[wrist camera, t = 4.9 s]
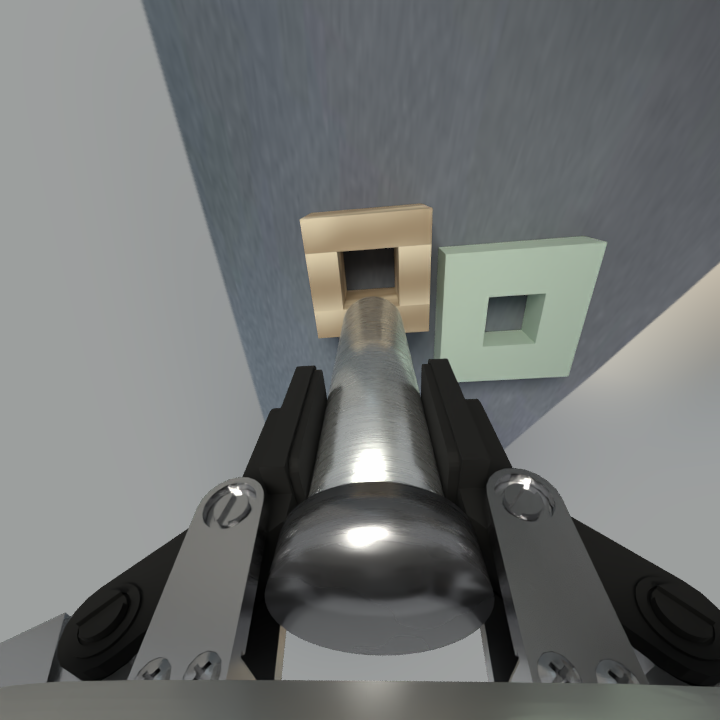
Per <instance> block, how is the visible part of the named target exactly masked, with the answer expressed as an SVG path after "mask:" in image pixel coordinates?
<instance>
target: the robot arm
mask: <svg viewBox="0 0 720 720" xmlns="http://www.w3.org/2000/svg"><path fill="white" fill-rule="evenodd" d="M421 401H422V406H423V410H424V414H425V418H426V422H427V427H428V431H429V435H430V439H431V443H432V448H433V452H434V456H435V460H436V464H437V469H438V473H439V477H440V481H441V486H442V490H443V494H444V498H446V499H448V500H450V501H451V502H452V503H454V504H455V505H456V506H458V507H459V508H460V509H461V510H462V511H463V512H464V513H465V514H466V515H467V517H468V518H469V520H470V521H471V523H472V525H473V528H474V530H475V533H476V536H477V540H478V543H479V546H480V550H481V553H482V556H483V560H484V563H485V566H486V569H487V573H488V576H489V579H490V583H491V586H492V589H493V593H494V607H493V610H492V612H491V615H490V616H489V618H488V619H487V621H486V622H485V623H484V624H483V625H482V626H481V627H480V630H481V637H482V643H483V650H484V656H485V663H486V669H487V675H488V682H433V681H431V682H430V681H303V680H281V679H282V669H283V658H284V648H285V638H286V629H284V628H283V627H282V626H281V625H280V624H279V623H277V622H276V620H275V619H274V618H273V617H272V616H271V614H270V612H269V611H268V609H267V606H266V603H265V589H266V585H267V581H268V577H269V573H270V569H271V565H272V562H273V558H274V554H275V550H276V546H277V542H278V538H279V534H280V531H281V527H282V525H283V522H284V520H285V519H286V517H287V516H288V514H289V513H290V512H291V511H292V510H293V509H294V508H295V507H296V506H297V505H298V504H300V503H301V502H302V501H304V500H305V499H307V498H308V497H309V492H310V487H311V482H312V477H313V472H314V466H315V461H316V456H317V451H318V446H319V441H320V436H321V431H322V426H323V421H324V416H325V410H326V405H327V396H326V389H325V383H324V377H323V372H322V370H316V367H315V366H299V367H297V368H296V370H295V372H294V375H293V378H292V380H291V383H290V386H289V388H288V391H287V394H286V396H285V399H284V402H283V404H282V407H281V408H274V409H272V410H271V411H270V413H269V415H268V417H267V420H266V422H265V425H264V427H263V429H262V432H261V434H260V436H259V439H258V441H257V444H256V446H255V448H254V451H253V453H252V456H251V458H250V460H249V463H248V465H247V468H246V470H245V472H244V475H243V477H238V478H234V479H229V480H227V481H225V482H223V483H221V484H219V485H217V486H216V487H214V488H213V489H212V490H210V491H209V492H208V493H207V494H206V495H205V496H204V498H203V499H202V500H201V502H200V504H199V505H198V507H197V509H196V512H195V514H194V517H193V519H192V521H191V524H190V526H189V528H188V529H187V530H185V531H184V532H183V533H181V534H179V535H178V536H176V537H175V538H174V539H172V540H171V541H169V542H168V543H166V544H165V545H163V546H162V547H160V548H159V549H157V550H156V551H154V552H153V553H151V554H150V555H148V556H147V557H146V558H144V559H143V560H141V561H140V562H138V563H137V564H135V565H134V566H132V567H131V568H129V569H128V570H126V571H125V572H123V573H122V574H121V575H119V576H118V577H116V578H115V579H113V580H112V581H110V582H109V583H107V584H106V585H104V586H103V587H101V588H100V589H99V590H98V591H96V592H95V593H94V594H93V595H91V596H90V597H89V598H88V599H87V600H86V601H85V602H84V603H83V604H82V605H81V606H80V607H79V608H78V609H77V611H76V612H75V613H74V614H73V615H72V616H69V615H68V614H66V613H63V614H61V615H59V616H57V617H55V618H53V619H50V620H48V621H46V622H44V623H42V624H40V625H38V626H36V627H33V628H31V629H29V630H27V631H25V632H23V633H21V634H19V635H16V636H14V637H13V638H10V639H8V640H6V641H4V642H2V643H0V720H720V610H719V609H718V608H717V607H716V606H715V605H714V604H713V603H712V602H710V601H709V600H708V599H707V598H706V597H705V596H704V595H703V594H701V592H699V591H698V590H696V589H695V588H693V587H691V586H690V585H688V584H687V583H686V582H684V581H683V580H681V579H679V578H677V577H675V576H674V575H672V574H670V573H669V572H667V571H665V570H663V569H662V568H660V567H658V566H656V565H654V564H653V563H651V562H649V561H648V560H646V559H644V558H642V557H641V556H639V555H637V554H635V553H634V552H632V551H630V550H628V549H626V548H625V547H623V546H621V545H619V544H618V543H616V542H614V541H613V540H611V539H609V538H608V537H606V536H604V535H602V534H600V533H599V532H597V531H595V530H593V529H592V528H590V527H588V526H586V525H585V524H583V523H581V522H580V521H578V520H576V519H574V518H573V517H571V516H570V514H569V512H568V510H567V508H566V506H565V504H564V501H563V499H562V497H561V496H560V494H559V493H558V491H557V490H556V489H555V488H554V487H553V486H552V485H551V484H550V483H549V482H548V481H547V480H545V479H544V478H542V477H540V476H539V475H537V474H535V473H532V472H529V471H527V470H523V469H516V468H512V466H511V464H510V462H509V460H508V458H507V456H506V453H505V451H504V449H503V447H502V445H501V443H500V441H499V439H498V437H497V435H496V433H495V431H494V429H493V427H492V425H491V423H490V421H489V419H488V416H487V414H486V412H485V410H484V408H483V406H482V404H481V402H480V401H479V400H478V399H465V398H464V396H463V394H462V391H461V389H460V387H459V384H458V382H457V379H456V377H455V375H454V372H453V370H452V368H451V365H450V363H449V361H448V359H447V358H443V359H429V360H428V364H422V375H421Z"/></svg>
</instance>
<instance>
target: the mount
mask: <svg viewBox="0 0 720 720" xmlns="http://www.w3.org/2000/svg"><path fill="white" fill-rule="evenodd" d="M300 225H301V231H302V237H303V244H304V250H305V256H306V263H307V269H308V275H309V281H310V288H311V294H312V300H313V306H314V313H315V319H316V325H317V331H318V338H329V337H340V334H341V329H342V324H343V319H344V316H345V313H346V311H347V310H348V308H349V307H350V306H351V305H352V304H353V303H354V302H356V301H357V300H359V299H362V298H365V297H371V296H375V297H381V298H384V299H386V300H388V301H390V302H391V303H393V304H394V305H395V306H396V307H397V309H398V310H399V312H400V314H401V317H402V322H403V326H404V330H405V333H408V332H424V331H429V306H430V273H431V240H432V208H431V207H428V206H426V205H424V204H410V205H399V206H387V207H375V208H364V209H352V210H341V211H329V212H318V213H310V214H309V215H307V216H305V217H303V218H302V219H300ZM392 247H394V272H395V287H390V288H376V289H362V290H348V291H347V285H346V276H345V266H344V256H343V251H354V250H366V249H379V248H392Z"/></svg>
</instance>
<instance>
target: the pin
mask: <svg viewBox="0 0 720 720" xmlns="http://www.w3.org/2000/svg"><path fill="white" fill-rule="evenodd" d="M265 603H266V606H267V609H268V611H269V612H270V614H271V616H272V617H273V618H274V619H275V620H276V622H277V623H279V624H280V625H281V626H282V627H283V628H284V629H286V630H287V631H289V632H290V633H292V634H294V635H295V636H297V637H299V638H301V639H303V640H306V641H308V642H310V643H313V644H316V645H319V646H322V647H325V648H329V649H332V650H337V651H342V652H348V653H355V654H364V655H403V654H411V653H419V652H424V651H429V650H434V649H437V648H441V647H444V646H447V645H449V644H452V643H455V642H457V641H459V640H461V639H464V638H465V637H467V636H469V635H470V634H472V633H473V632H475V631H476V630H477V629H479V628H480V627H481V626H482V625H483V624H484V623H485V622H486V621H487V619H488V618H489V616H490V615H491V612H492V610H493V607H494V593H493V589H492V586H491V583H490V579H489V576H488V573H487V569H486V566H485V563H484V560H483V556H482V553H481V550H480V546H479V543H478V540H477V536H476V533H475V530H474V528H473V525H472V523H471V521H470V520H469V518H468V517H467V515H466V514H465V513H464V512H463V511H462V510H461V509H460V508H459V507H458V506H456V505H455V504H454V503H452V502H451V501H450V500H448V499H446V498H444V494H443V490H442V486H441V481H440V477H439V473H438V469H437V464H436V460H435V456H434V452H433V448H432V443H431V439H430V435H429V431H428V427H427V422H426V418H425V414H424V410H423V406H422V401H421V397H420V393H419V389H418V385H417V380H416V376H415V372H414V368H413V364H412V359H411V355H410V351H409V347H408V343H407V338H406V334H405V330H404V326H403V322H402V317H401V314H400V312H399V310H398V309H397V307H396V306H395V305H394V304H393V303H391V302H390V301H388V300H386V299H384V298H381V297H375V296H371V297H365V298H362V299H359V300H357V301H356V302H354V303H353V304H352V305H351V306H350V307H349V308H348V310H347V311H346V313H345V316H344V319H343V324H342V329H341V334H340V339H339V344H338V349H337V355H336V360H335V365H334V370H333V375H332V380H331V385H330V390H329V395H328V400H327V405H326V410H325V416H324V421H323V426H322V431H321V436H320V441H319V446H318V451H317V456H316V461H315V466H314V472H313V477H312V482H311V487H310V492H309V497H308V498H307V499H305V500H304V501H302V502H301V503H300V504H298V505H297V506H296V507H295V508H294V509H293V510H292V511H291V512H290V513H289V514H288V516H287V517H286V519H285V520H284V522H283V525H282V527H281V531H280V534H279V538H278V542H277V546H276V550H275V554H274V558H273V562H272V565H271V569H270V573H269V577H268V581H267V585H266V589H265Z"/></svg>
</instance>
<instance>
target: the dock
mask: <svg viewBox="0 0 720 720" xmlns="http://www.w3.org/2000/svg"><path fill="white" fill-rule="evenodd" d="M606 245H607V242H605V241H601V240H597V239H593V238H589V237H586V236H578V237H565V238H552V239H539V240H526V241H514V242H501V243H488V244H475V245H462V246H450V247H438V270H437V294H436V318H435V343H434V359H443V358H447V359H448V361H449V363H450V365H451V368H452V370H453V372H454V375H455V377H456V379H457V382H472V381H491V380H509V379H528V378H547V377H566V376H569V372H570V369H571V365H572V362H573V359H574V355H575V352H576V348H577V345H578V341H579V338H580V335H581V331H582V328H583V324H584V321H585V317H586V314H587V310H588V307H589V304H590V300H591V297H592V293H593V290H594V286H595V283H596V280H597V276H598V273H599V269H600V266H601V262H602V259H603V256H604V252H605V249H606ZM515 295H528V296H527V301H526V307H525V312H524V317H523V323H522V328H521V330H509V331H493V332H485V324H486V316H487V308H488V300H489V297H500V296H515Z"/></svg>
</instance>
